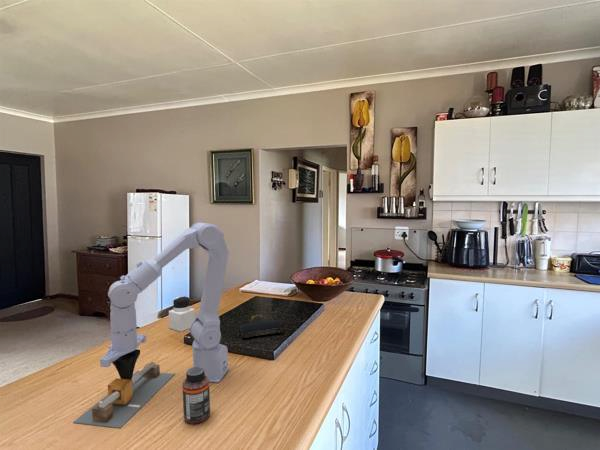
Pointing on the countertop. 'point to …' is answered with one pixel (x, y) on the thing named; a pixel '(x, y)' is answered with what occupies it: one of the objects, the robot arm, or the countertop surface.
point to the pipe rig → (119, 414)
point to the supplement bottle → (196, 396)
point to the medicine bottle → (181, 314)
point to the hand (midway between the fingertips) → (126, 380)
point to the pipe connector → (260, 324)
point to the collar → (125, 388)
